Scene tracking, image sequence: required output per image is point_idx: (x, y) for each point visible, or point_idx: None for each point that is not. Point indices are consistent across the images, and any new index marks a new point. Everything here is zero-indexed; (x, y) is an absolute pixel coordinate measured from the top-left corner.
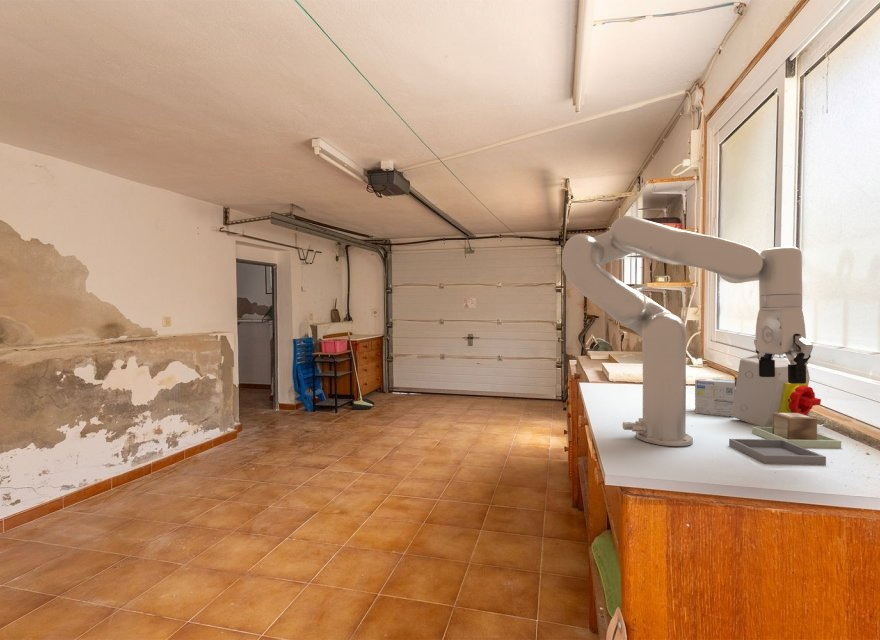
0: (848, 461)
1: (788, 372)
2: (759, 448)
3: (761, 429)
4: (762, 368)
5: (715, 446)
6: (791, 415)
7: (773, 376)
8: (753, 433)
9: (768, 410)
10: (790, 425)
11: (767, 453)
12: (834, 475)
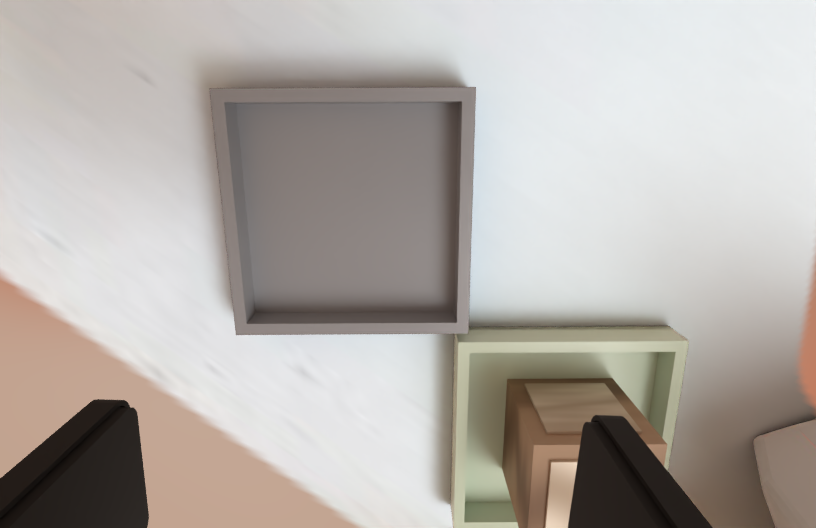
0: (319, 434)
1: (37, 470)
2: (430, 205)
3: (635, 351)
4: (623, 493)
5: (483, 28)
6: None
7: (569, 526)
8: (662, 328)
9: (802, 504)
10: (524, 422)
11: (361, 193)
12: (154, 280)
